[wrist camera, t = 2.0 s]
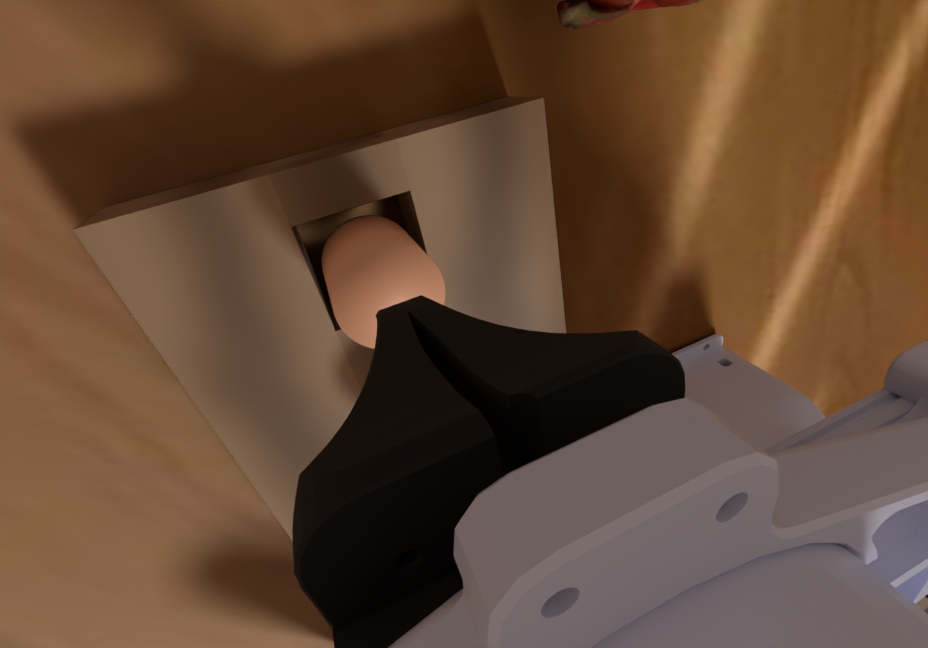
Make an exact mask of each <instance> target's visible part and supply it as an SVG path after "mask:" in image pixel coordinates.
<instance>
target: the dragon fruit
mask: <svg viewBox="0 0 928 648" xmlns="http://www.w3.org/2000/svg"><path fill="white" fill-rule="evenodd" d="M700 1H702V0H565V1H561V2H560V3H559V4H558V5H557V11H558V14H559V21H560V23H561V25H562V26H563V27H567V28H569V27H571V28H573V29H578V28H582V27H588V26H593V25H597V24H600V23H606V22H609V21H612V20H614V19H616V18H618V17H621V16H622V15H624V14H626V13H628V12H630V11H633V10H641V9H651V8H658V7H669V6H676V7H679V6H685V5H690V4H695V3H698V2H700Z"/></svg>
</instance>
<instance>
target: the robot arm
mask: <svg viewBox="0 0 928 648" xmlns="http://www.w3.org/2000/svg"><path fill="white" fill-rule="evenodd" d="M376 318H377V335H376V342H375V349H374V353H373V357H372V361H371V365H370V369H369V372H368V375H367V378H366V380H365V383H364V385H363V388H362V390H361V392H360V395H359V397H358V398H357V400H356V402H355V404H354V406H353V408H352V410H351V412H350V414H349V415H348V417H347V419H346V420H345V421H344V423H343V424H342V426H341V427H340V429H339V430H338V431H337V433H336V434H335V435H334V437H333V438H332V439H331V440H330V442H329V443H328V444H327V445H326V446H325V448H324V449H323V450H322V451H321V452H320V453H319V454H318V455H317V456H316V457H315V458H314V460H313V461H312V462H311V463H310V464H309V465H308V466H307V467H306V468H305V469H304V470H303V471H302V472H301V473H300V475H299V479H298V484H297V490H296V497H295V505H294V513H293V526H292V537H293V556H294V573H295V576H296V578H297V580H298V582H299V584H300V587H301V588H302V590H303V591H304V592H305V594H306V595H307V596H308V597H309V599H310V600H311V601H312V603H313V604H314V605H315V607H316V608H317V609H318V611H319V612H320V613H321V614H322V616H323V617H324V618H325V620H326V621H327V622H328V624H329V625H330V626H331V628H333V637H334V646H335V648H928V607H927V608H926V609H924V610H922V609H921V608H920V607H918V606H917V605H916V603H917V602H918V601H920V600H921V599H922V598H923V597H925V596H926V595H927V594H928V339H927V340H925V341H923V342H921V343H919V344H917V345H915V346H913V347H911V348H909V349H908V350H906V351H904V352H903V353H901V354H900V355H898V356H897V357H896V359H895V360H894V361H893V362H892V363H891V365H890V367H889V369H888V371H887V373H886V376H885V380H884V387H883V388H882V389H880V390H878V391H876V392H874V393H872V394H870V395H868V396H866V397H865V398H863V399H861V400H859V401H857V402H855V403H853V404H851V405H849V406H848V407H846V408H844V409H842V410H840V411H838V412H836V413H834V414H833V415H831V416H829V417H827V418H825V416H824V415H823V414H822V412H821V411H820V410H819V409H818V408H817V406H816V405H815V404H814V403H813V402H812V401H811V400H810V399H809V398H808V397H806V396H805V395H804V394H802V393H801V392H800V391H798V390H797V389H795V388H793V387H792V386H790V385H788V384H786V383H785V382H783V381H781V380H779V379H778V378H776V377H774V376H773V375H771V374H769V373H767V372H766V371H764V370H762V369H760V368H759V367H757V366H755V365H753V364H752V363H750V362H748V361H746V360H745V359H743V358H741V357H739V356H738V355H736V354H734V353H732V352H731V351H729V350H727V349H726V348H724V347H722V344H723V337H722V336H721V335H719V334H714V335H712V336H709V337H707V338H705V339H703V340H700V341H698V342H696V343H694V344H691V345H689V346H687V347H685V348H682V349H680V350H678V351H676V352H673V353H670V352H669V351H667V350H666V349H664V348H663V347H661V346H660V345H658V344H657V343H655V342H654V341H652V340H651V339H649V338H648V337H646V336H645V335H643V334H642V333H640V332H638V331H636V330H634V331H620V332H607V333H591V334H580V333H550V332H540V331H530V330H524V329H518V328H513V327H508V326H503V325H498V324H495V323H491V322H487V321H484V320H481V319H478V318H475V317H472V316H469V315H466V314H463V313H461V312H458V311H456V310H453V309H451V308H449V307H446V306H444V305H442V304H440V303H438V302H435V301H433V300H431V299H429V298H427V297H425V296H422V295H420V296H417V297H415V298H412V299H409V300H406V301H404V302H401V303H398V304H395V305H392V306H390V307H387V308H384V309H381V310H379V311H378V312H377V314H376Z"/></svg>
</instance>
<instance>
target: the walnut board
mask: <svg viewBox="0 0 928 648" xmlns="http://www.w3.org/2000/svg"><path fill="white" fill-rule="evenodd" d="M394 195H397V196H398V199H399V203H400V206H401V210H402V213H403V217H404V220H405V224H406V227H407V231H408V234H409V236H410V237H411V238H412V239H413V240H414V241H415V242H416V243H417V244H418V245H419V247H420V248H421V249H422V250H423V251H424V252H425V253H426V254H427V255H428V256H429V257H430V258H431V260H432V261H433V262H434V263H435V264H436V265H437V267H438V268H439V270H440V272H441V274H442V277H443V280H444V285H445V301H444V306H446V307H449V308H451V309H453V310H456V311H458V312H461V313H463V314H466V315H469V316H472V317H475V318H478V319H481V320H484V321H487V322H491V323H495V324H498V325H503V326H508V327H513V328H518V329H524V330H530V331H540V332H550V333H566V324H565V313H564V303H563V292H562V282H561V271H560V261H559V250H558V240H557V230H556V219H555V209H554V198H553V188H552V177H551V167H550V156H549V146H548V135H547V125H546V115H545V104H544V98H540V97H505V98H501V99H498V100H494V101H490V102H487V103H483V104H479V105H476V106H472V107H469V108H465V109H461V110H458V111H454V112H450V113H447V114H443V115H439V116H436V117H432V118H428V119H425V120H421V121H418V122H414V123H410V124H407V125H403V126H399V127H396V128H392V129H388V130H385V131H381V132H377V133H374V134H370V135H366V136H363V137H359V138H356V139H352V140H348V141H345V142H341V143H337V144H334V145H330V146H326V147H323V148H319V149H315V150H312V151H308V152H305V153H301V154H297V155H294V156H290V157H286V158H283V159H279V160H275V161H272V162H268V163H264V164H261V165H257V166H254V167H250V168H246V169H243V170H239V171H235V172H232V173H228V174H224V175H221V176H217V177H213V178H210V179H206V180H203V181H199V182H195V183H192V184H188V185H184V186H181V187H177V188H173V189H170V190H166V191H162V192H159V193H155V194H151V195H148V196H144V197H141V198H137V199H133V200H130V201H126V202H122V203H119V204H115V205H111V206H108V207H104V208H103V209H101V210H100V211H99V212H97V213H96V214H94V215H93V216H91V217H90V218H88V219H87V220H86V221H84V222H83V223H81V224H80V225H78V226H77V227H76V228H74V229H73V231H74V233H75V234H76V236H77V237H78V238H79V240H80V241H81V243H82V244H83V245H84V247H85V248H86V250H87V251H88V253H89V254H90V255H91V257H92V258H93V260H94V261H95V262H96V264H97V265H98V267H99V268H100V269H101V271H102V272H103V274H104V275H105V277H106V278H107V279H108V281H109V282H110V284H111V285H112V286H113V288H114V289H115V291H116V292H117V294H118V295H119V296H120V298H121V299H122V301H123V302H124V303H125V305H126V306H127V308H128V309H129V311H130V312H131V313H132V315H133V316H134V318H135V319H136V320H137V322H138V323H139V325H140V326H141V328H142V329H143V330H144V332H145V333H146V335H147V336H148V337H149V339H150V340H151V342H152V343H153V344H154V346H155V347H156V349H157V350H158V352H159V353H160V354H161V356H162V357H163V359H164V360H165V361H166V363H167V364H168V366H169V367H170V369H171V370H172V371H173V373H174V374H175V376H176V377H177V378H178V380H179V381H180V383H181V384H182V386H183V387H184V388H185V390H186V391H187V393H188V394H189V395H190V397H191V398H192V400H193V401H194V402H195V404H196V405H197V407H198V408H199V410H200V411H201V412H202V414H203V415H204V417H205V418H206V419H207V421H208V422H209V424H210V425H211V427H212V428H213V429H214V431H215V432H216V434H217V435H218V436H219V438H220V439H221V441H222V442H223V444H224V445H225V446H226V448H227V449H228V451H229V452H230V453H231V455H232V456H233V458H234V459H235V461H236V462H237V463H238V465H239V466H240V468H241V469H242V470H243V472H244V473H245V475H246V476H247V477H248V479H249V480H250V482H251V483H252V485H253V486H254V487H255V489H256V490H257V492H258V493H259V494H260V496H261V497H262V499H263V500H264V502H265V503H266V504H267V506H268V507H269V509H270V510H271V511H272V513H273V514H274V516H275V517H276V519H277V520H278V521H279V523H280V524H281V526H282V527H283V528H284V530H285V531H286V533H287V534H288V536H289V537H290V538H291V540H292V541H293V537H292V526H293V513H294V505H295V497H296V490H297V484H298V479H299V475H300V473H301V472H302V471H303V470H304V469H305V468H306V467H307V466H308V465H309V464H310V463H311V462H312V461H313V460H314V458H315V457H316V456H317V455H318V454H319V453H320V452H321V451H322V450H323V449H324V448H325V446H326V445H327V444H328V443H329V442H330V440H331V439H332V438H333V437H334V435H335V434H336V433H337V431H338V430H339V429H340V427H341V426H342V424H343V423H344V421H345V420H346V419H347V417H348V415H349V414H350V412H351V410H352V408H353V406H354V404H355V402H356V400H357V398H358V397H359V395H360V392H361V390H362V388H363V385H364V383H365V380H366V378H367V375H368V372H369V369H370V365H371V361H372V357H373V353H374V349H373V348H369V347H366V346H363V345H361V344H359V343H357V342H355V341H353V340H352V339H351V338H350V337H348V336H347V335H346V334H345V333H344V332H343V330H342V329H341V328H340V326H339V324H338V322H337V320H336V318H335V315H334V312H333V308H332V304H331V301H328V300H327V298H326V296H325V293H324V291H323V289H322V286H321V284H320V281H319V279H318V277H317V274H316V272H315V270H314V267H313V265H312V262H311V260H310V258H309V255H308V253H307V251H306V248H305V246H304V244H303V241H302V239H301V236H300V234H299V232H298V229H297V227H296V225H299V224H303V223H306V222H309V221H312V220H316V219H319V218H322V217H325V216H329V215H332V214H335V213H338V212H342V211H345V210H348V209H351V208H355V207H358V206H361V205H364V204H368V203H371V202H374V201H377V200H381V199H384V198H387V197H390V196H394Z"/></svg>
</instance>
